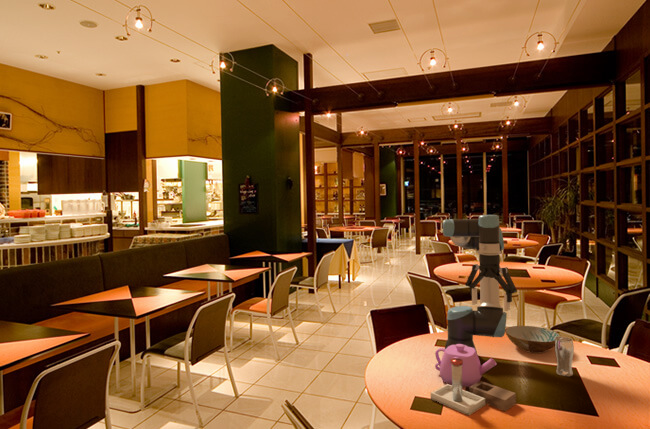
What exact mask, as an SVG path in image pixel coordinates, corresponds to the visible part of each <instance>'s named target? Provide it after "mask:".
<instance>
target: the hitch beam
mask: <svg viewBox="0 0 650 429" xmlns="http://www.w3.org/2000/svg"><path fill="white" fill-rule="evenodd" d="M468 389H469V391H468V392H470V393H473V394H475V395H478V396H480V397H483V398H485V405H488V406H490V407H493V408H496V409H498V410H501V411H503V412H507V411H508V410H509V409H510V408H512V407H514V406H515V405H517V393H516V392H514V391H511V390H508V389H506V388H502V387H500V386H497V385H494V384H491V383H488V382H485V381H482V380H479V382H477V383H476V384H474V385H472V386H470V387H468Z"/></svg>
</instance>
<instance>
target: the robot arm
mask: <svg viewBox="0 0 650 429" xmlns="http://www.w3.org/2000/svg"><path fill="white" fill-rule="evenodd" d="M442 235H443V237H448V238H450V240H451V242H452V244H454V245H455V246H457V247H460V248H463V249H467V250H476V251H475V252H476V254H477V255H478V256H479V257H478V258H479V259H478V260H479V265H478V264H477V263H476V264H472V266H471V271H470V273H469V275H468V278H467V279H466V281H465V287H468V288H469V295H470V297H471V305H472V306H474V305H477V304H478V287H476V286H478V284H479V291H480V292H479V295H480V296H479V298H480V299H479V300H480V304H478V305H477V306H476V310H474V309H473V308H472V306H468V305H457V306H452V307H450V308H449V309H448V310H447V317H446V320H447V340H446V343H445V346H444V349H446V348H447V347H448V346H450V345H456V344H463V345H466V346H468V347H472V348H474V349H475V350H476V352H477V353H478V351H477V349H476V346H475V345H476V344H475V342H474V336H478V337H480V336H481V337H490V338H503V337H504V336H505V334H506V333H505V329H506V328H507V327H506V326H507V316H508V315H507V314H508V313H507V312H508V311H511V304H510V303H511V302H513V294H514V293H515V294H516V293H517V292H518V290H517V287H516V285H515V283H514V282H513V278H512V277H511V275H510V273H509V268H508V266H507V267H501V266H500V264H501V254H502V250H504V249H505V243H504V236H503V232H502V229H501V228H500V217H499V215H497V214H481V215H479V216H478V218H469V219H467V218H466V219H463V218H462V219H461V218H460V219H459V218H457V219H455V218H450V219H444V220H443V221H442ZM478 271H479V274H478V275H477V276H476V274H477V273H478ZM500 273H502V275H501V274H500ZM475 277H476V278H475ZM500 286H501V288H502V289H503V291H504V292H505V293H504V295H503V296H504V300H503V301H504V307H503V306H501V304H500Z"/></svg>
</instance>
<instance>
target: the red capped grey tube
mask: <svg viewBox="0 0 650 429" xmlns="http://www.w3.org/2000/svg"><path fill="white" fill-rule="evenodd" d="M450 363H451V364H452V384H451V385H452V399H453V401H455V402H462V401H463V396H462V390H463V386H462V364H463V360H462V359H459V358H452V359H450Z"/></svg>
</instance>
